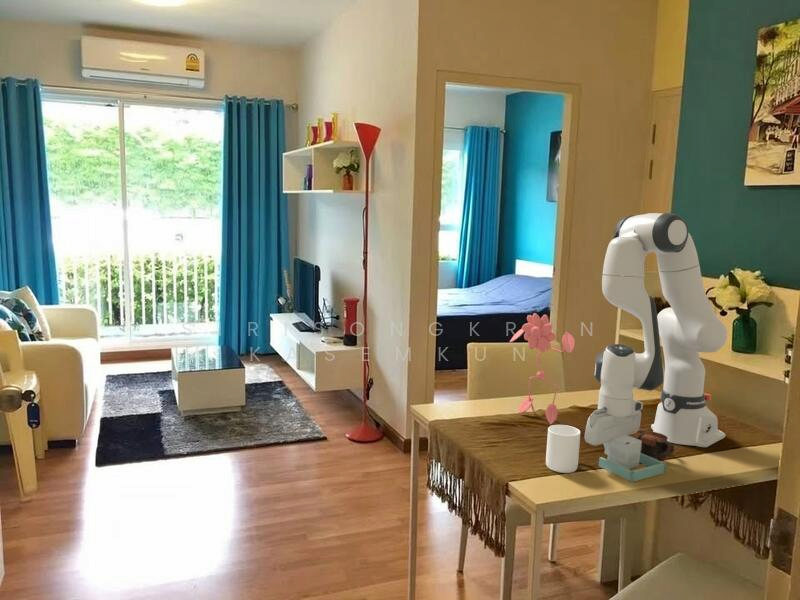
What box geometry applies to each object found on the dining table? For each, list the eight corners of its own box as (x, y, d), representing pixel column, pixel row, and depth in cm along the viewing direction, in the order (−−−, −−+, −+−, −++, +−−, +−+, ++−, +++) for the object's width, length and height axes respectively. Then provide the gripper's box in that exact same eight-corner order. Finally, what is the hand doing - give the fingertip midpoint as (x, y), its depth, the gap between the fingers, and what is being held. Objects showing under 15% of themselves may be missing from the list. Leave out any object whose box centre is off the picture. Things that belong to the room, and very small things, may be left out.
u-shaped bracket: (631, 457, 179) (632, 449, 179) (665, 472, 170) (666, 463, 170) (598, 466, 173) (599, 457, 172) (632, 481, 163) (632, 472, 163)
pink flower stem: (516, 405, 222) (521, 305, 216) (579, 427, 202) (587, 318, 196) (485, 414, 212) (489, 309, 206) (548, 438, 193) (555, 323, 187)
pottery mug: (624, 456, 182) (630, 427, 184) (646, 466, 186) (650, 438, 188) (662, 460, 172) (667, 430, 174) (683, 470, 176) (688, 441, 178)
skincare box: (619, 458, 178) (622, 432, 177) (639, 466, 174) (642, 440, 172) (606, 463, 175) (609, 437, 173) (626, 471, 170) (629, 444, 169)
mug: (562, 454, 180) (565, 419, 178) (589, 463, 174) (593, 427, 173) (539, 466, 171) (542, 429, 169) (567, 476, 165) (570, 438, 164)
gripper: (601, 414, 166) (596, 465, 168) (646, 402, 178) (641, 450, 180) (581, 407, 171) (576, 457, 173) (626, 396, 183) (622, 442, 185)
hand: (610, 453), depth 177 cm, fingers closed, pressing on skincare box
